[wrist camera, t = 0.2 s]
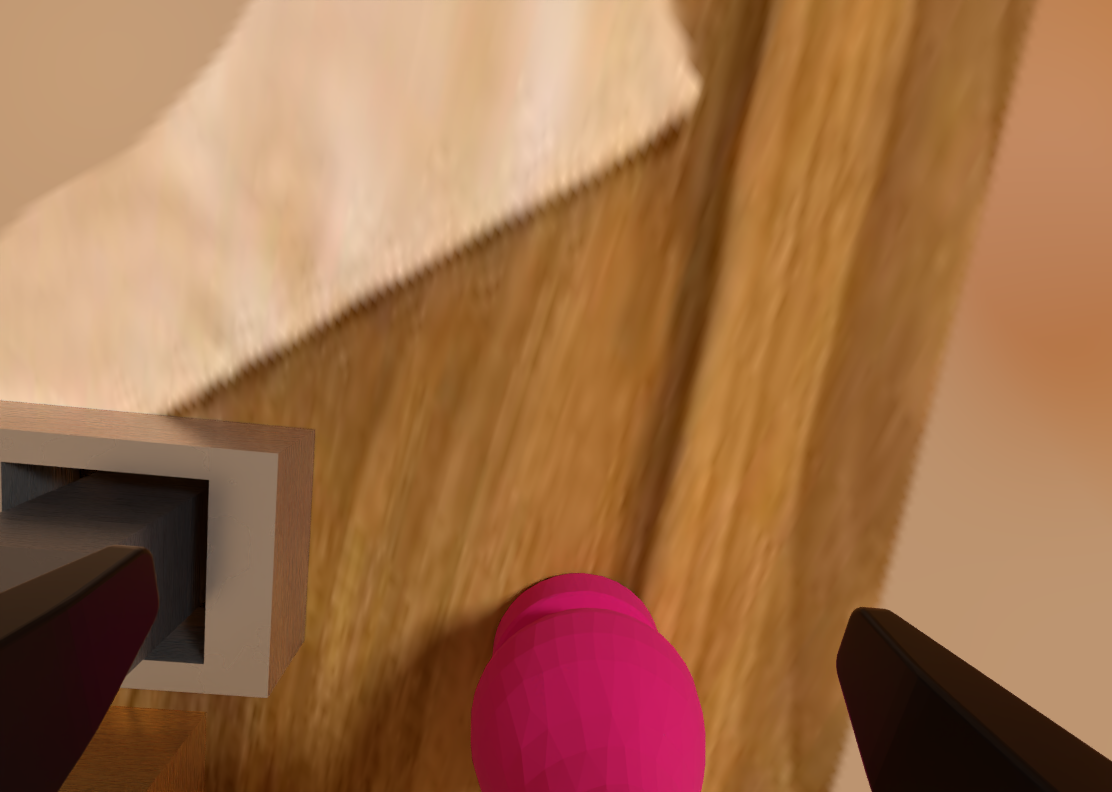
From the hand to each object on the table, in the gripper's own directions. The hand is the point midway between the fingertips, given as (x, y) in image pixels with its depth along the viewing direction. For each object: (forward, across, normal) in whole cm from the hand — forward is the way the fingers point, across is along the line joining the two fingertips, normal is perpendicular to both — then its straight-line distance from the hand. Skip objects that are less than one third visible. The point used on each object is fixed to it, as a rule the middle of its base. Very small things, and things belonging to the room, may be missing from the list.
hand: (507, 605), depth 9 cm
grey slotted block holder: (+13, +16, +9) cm, 23 cm away
